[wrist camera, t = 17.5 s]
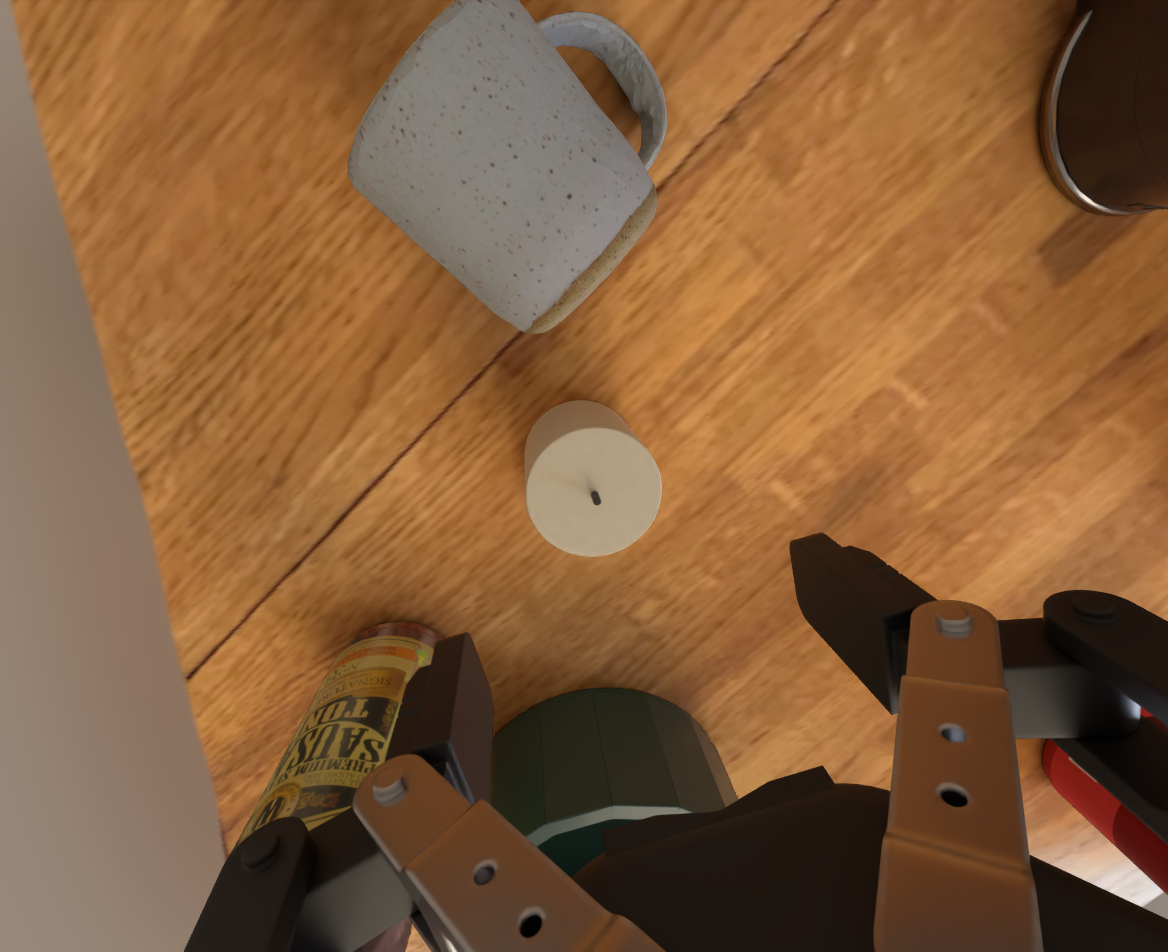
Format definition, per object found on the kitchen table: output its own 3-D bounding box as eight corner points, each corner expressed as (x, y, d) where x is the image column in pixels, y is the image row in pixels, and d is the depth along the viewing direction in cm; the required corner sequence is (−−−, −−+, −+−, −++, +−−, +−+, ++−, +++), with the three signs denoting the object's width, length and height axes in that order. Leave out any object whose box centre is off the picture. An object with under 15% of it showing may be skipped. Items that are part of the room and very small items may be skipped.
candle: (510, 416, 26) (507, 454, 20) (621, 386, 26) (651, 415, 20) (540, 519, 27) (546, 582, 21) (645, 490, 28) (679, 545, 22)
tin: (432, 730, 30) (406, 863, 23) (695, 657, 31) (747, 766, 24) (509, 912, 35) (506, 1069, 28) (736, 847, 36) (789, 986, 28)
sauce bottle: (419, 592, 28) (211, 1213, 9) (486, 682, 30) (427, 1346, 11) (305, 653, 28) (-122, 1371, 9) (378, 738, 30) (146, 1472, 11)
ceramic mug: (531, 343, 25) (539, 361, 17) (373, 200, 22) (307, 152, 15) (702, 146, 23) (789, 76, 16) (552, -29, 21) (574, -205, 14)
